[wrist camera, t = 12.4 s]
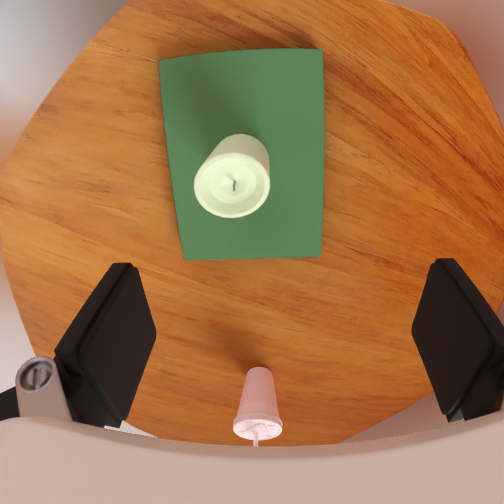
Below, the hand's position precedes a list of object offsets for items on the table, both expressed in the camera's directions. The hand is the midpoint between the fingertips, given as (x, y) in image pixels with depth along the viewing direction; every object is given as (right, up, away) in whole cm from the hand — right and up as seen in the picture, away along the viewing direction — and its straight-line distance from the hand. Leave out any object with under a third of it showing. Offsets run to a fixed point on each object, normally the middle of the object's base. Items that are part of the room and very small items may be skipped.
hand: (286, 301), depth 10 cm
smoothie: (0, -16, +35) cm, 38 cm away
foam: (-2, +10, +19) cm, 22 cm away
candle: (-2, +10, +18) cm, 20 cm away
